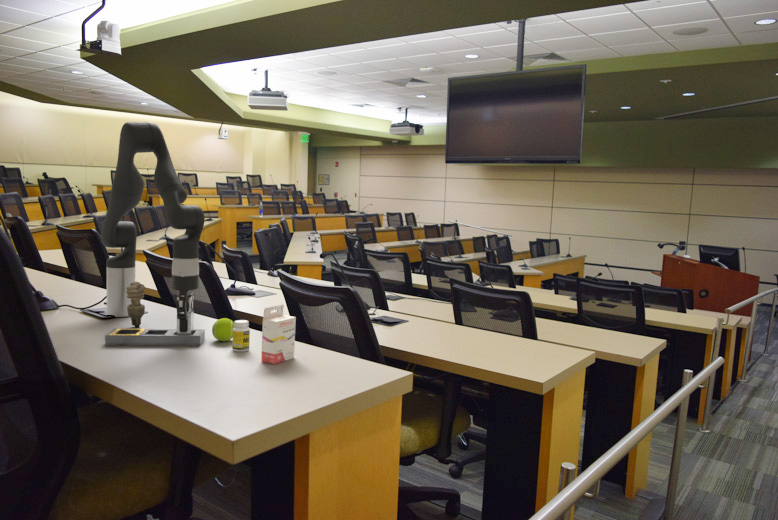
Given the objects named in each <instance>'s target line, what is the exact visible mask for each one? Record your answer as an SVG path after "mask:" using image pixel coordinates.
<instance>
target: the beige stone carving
mask: <svg viewBox="0 0 778 520" xmlns="http://www.w3.org/2000/svg"><path fill="white" fill-rule="evenodd" d="M126 289H127V291H126V293H127V294H128V295H127V298H130V299H131V304H130V305H128V306H127V313H128V315H129V316H128V317H129V318H130V319H131V326H133V327H135V328H140V326H141V324H142V322H141V321H142V318H143V316H144V315H145V313H146V312H145V311H146V310H145V309H146V307H145V305H144V304H142V303H141V300H143V299H144V298H145V289H146V287H145V285H144V284H143V283H141V282H138V281H135V282H132V283H130V286H127V287H126Z"/></svg>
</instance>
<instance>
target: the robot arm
mask: <svg viewBox="0 0 778 520" xmlns="http://www.w3.org/2000/svg"><path fill="white" fill-rule="evenodd" d="M119 133H120V134H119V144H118V153H117V154H118V155H117V161H116V168H115V172H114V177H113V180H112V184H111V190H110V197H109V203H108V207H107V210H106V213H105V216H104V217H105V218H104V220H103V224H102V225H101V232H100V241H101V244H102V245H103V246H104V247H106V248H110V249H111V248H113V249H114V248H123V250H122V251H121V252H119V253H118V254H117V255H114V256H111V257H108V258H107V259H106V260H105V262H106V263H105V265H106V315H107V314H109V315H114V316H115V317H114V318H123V317H130V316H129V315H128V313H127V306H128V305H130V304H131V299H130V298H127V295H128V294H127V293H126V291H127V289H126V287H127V286H130V283H132V282H136V258H137V257H136V255H137V253H136V252H137V251H136V250H137V238H138V237H137V227H136V224H135V223H134V222H133V221H125V220H123V221H121V219H122V218H123V217H124V216H126V215H127V214H128V213H130V212H131V211H132V210H133V209H135V208H136V207H137V206H138V205H139V204H140V202H141V199H142V197H143V192H144V188H145V182H144V178H143V176H142V174H141V173H140V171H139V170H138V168H137V165H136V164H135V156H136V154H138V153H139V154H140V153H141V154H142V153H144V154H145V153H153V154H154V155H155V158H156V166H155V169H154V174H153V183H154V185H155V187H156V190H157V191H158V195H159V196H160V198H161V200H162V203H163V208H164V215H165V219H166V222H167V224H168V225H169V226H170V227H171V228H172V229H175V230H185V232H184V234H183V235H182V236H180V237H179V236H178V237H176V238H174V239H173V242H172V262H171V288H172V290H174V291H178V292H179V293H178V295H177V297H176V301H175V304H176V306H175V308H176V320H177V319H179V320H180V323H179V331H180V332H187V331H188V312H190V311H194V298H195V293H194V292H192V291H196V290H198V289H199V287H200V262H199V243H200V240H201V237H202V234H203V233H202V232H203V229H204V226H205V222H206V218H205V217H206V216H205V212H204V211H203V209H202V208H201V207H200V206H199V205H196V204H195V205H194V204H183V203H185V201H186V200H187V198H188V193H187V191H186V189H185V187H184V185H183V183H182V182H181V180H180V177H179V176H178V174H177V172H176V170H175V167H174V164H173V161H172V157H171V155H170V152H169V148H168V145H167V143H166V140H165V138H164V137H165V136H164V134H163V132H162V130H161V128H160V127H159V125H158V124H157V123H155V122H154V121H153V122H152V121H126V122H124V124H123V125H122V127H121V129H120V132H119ZM181 312H184V315H181Z"/></svg>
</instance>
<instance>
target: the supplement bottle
mask: <svg viewBox="0 0 778 520" xmlns="http://www.w3.org/2000/svg"><path fill="white" fill-rule="evenodd" d="M233 322H234V326H235V327H234V328H233V338H232V350H233V352H236V353H237V352H239V353H241V352H242V353H243V352H247V351H250V334H251V333H250V331H251V330H250V327H249V326H250V323H249V320H246V319H237V320H234V321H233Z"/></svg>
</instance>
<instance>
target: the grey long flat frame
mask: <svg viewBox="0 0 778 520" xmlns="http://www.w3.org/2000/svg"><path fill="white" fill-rule="evenodd" d="M205 331H206V330H205V329H201V328H200V329H198V328H197V329H196V328H195V329H194V328H193V335H177V328H176V329H175V328H174V329H172V328H171V329H170V328H169V329H167V328H164V329H163V328H162V329H161V328H113V329H112V330H111V331H109V332H108V333H106V334H105V335H104V346H105V347H110V346H111V347H113V346H115V347H119V346H120V347H127V346H128V347H130V346H131V347H201V345H202V344H203V343H204V341H205V337H206V336H205V333H206V332H205Z"/></svg>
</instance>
